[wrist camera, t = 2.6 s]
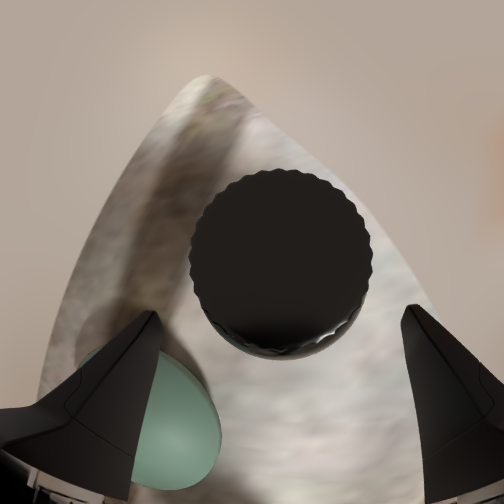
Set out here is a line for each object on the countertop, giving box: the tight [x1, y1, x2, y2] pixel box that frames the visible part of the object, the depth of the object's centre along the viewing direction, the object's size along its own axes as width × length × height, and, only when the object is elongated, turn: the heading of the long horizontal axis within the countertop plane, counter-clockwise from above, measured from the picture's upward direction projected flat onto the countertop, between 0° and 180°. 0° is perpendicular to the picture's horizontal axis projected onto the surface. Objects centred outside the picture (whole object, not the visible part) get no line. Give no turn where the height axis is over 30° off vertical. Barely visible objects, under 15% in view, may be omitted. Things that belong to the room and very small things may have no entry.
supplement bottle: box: [188, 168, 373, 361], centre depth 12 cm, size 7×7×12 cm
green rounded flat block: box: [77, 346, 222, 490], centre depth 16 cm, size 12×12×3 cm
